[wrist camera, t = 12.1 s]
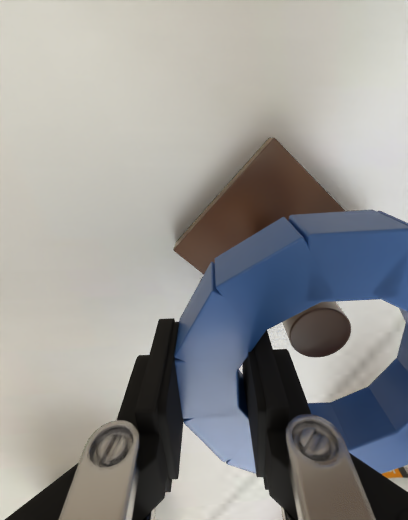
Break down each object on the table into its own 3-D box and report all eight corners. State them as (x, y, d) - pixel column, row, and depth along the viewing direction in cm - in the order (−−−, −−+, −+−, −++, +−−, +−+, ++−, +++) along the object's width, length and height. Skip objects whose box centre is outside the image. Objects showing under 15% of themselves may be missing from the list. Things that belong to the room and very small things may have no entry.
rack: (175, 243, 22) (143, 341, 12) (269, 137, 19) (342, 140, 8) (265, 315, 25) (306, 451, 14) (362, 232, 21) (508, 326, 11)
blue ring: (123, 352, 11) (106, 394, 9) (339, 128, 8) (379, 127, 6) (302, 466, 14) (317, 516, 12) (520, 334, 11) (586, 376, 9)
